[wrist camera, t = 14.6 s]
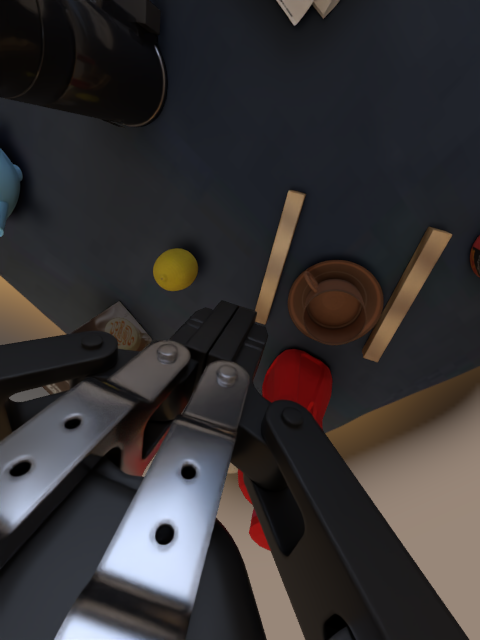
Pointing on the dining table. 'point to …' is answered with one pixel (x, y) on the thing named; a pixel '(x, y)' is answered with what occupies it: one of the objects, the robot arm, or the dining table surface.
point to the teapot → (8, 188)
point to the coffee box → (117, 325)
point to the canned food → (475, 257)
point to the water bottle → (295, 385)
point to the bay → (399, 299)
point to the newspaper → (305, 8)
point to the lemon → (175, 269)
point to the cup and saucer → (335, 302)
